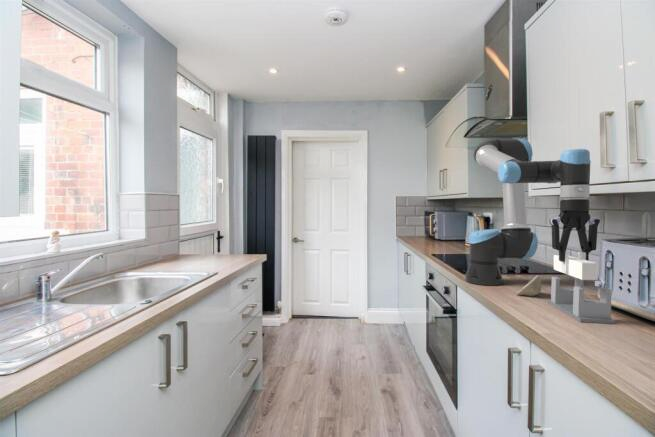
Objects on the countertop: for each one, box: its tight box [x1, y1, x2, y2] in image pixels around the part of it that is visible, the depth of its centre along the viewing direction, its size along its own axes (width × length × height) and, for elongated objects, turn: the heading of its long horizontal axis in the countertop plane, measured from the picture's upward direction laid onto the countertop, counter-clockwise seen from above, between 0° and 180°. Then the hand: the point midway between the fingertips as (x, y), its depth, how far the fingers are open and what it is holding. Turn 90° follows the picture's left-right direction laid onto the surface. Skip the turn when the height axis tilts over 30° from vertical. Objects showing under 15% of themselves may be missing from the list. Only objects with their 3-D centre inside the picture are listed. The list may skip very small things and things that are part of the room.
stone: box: [515, 274, 543, 297], centre depth 128 cm, size 10×7×10 cm
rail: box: [553, 254, 599, 281], centre depth 106 cm, size 18×4×5 cm, turn 168°
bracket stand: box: [547, 276, 616, 325], centre depth 107 cm, size 20×9×10 cm, turn 170°
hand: (573, 271), depth 107 cm, fingers closed on rail, 4 cm apart
